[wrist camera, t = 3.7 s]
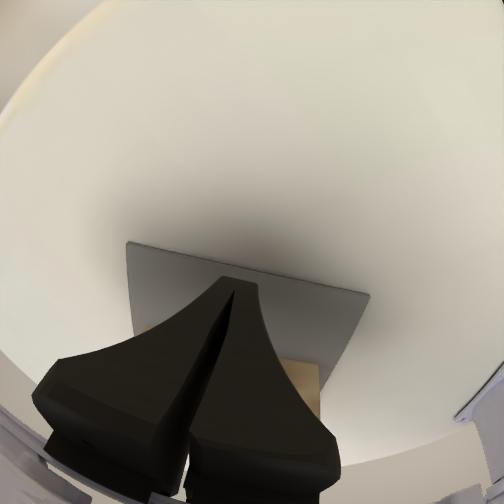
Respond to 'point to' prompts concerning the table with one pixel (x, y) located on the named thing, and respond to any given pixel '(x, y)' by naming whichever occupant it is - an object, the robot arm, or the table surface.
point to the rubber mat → (270, 297)
